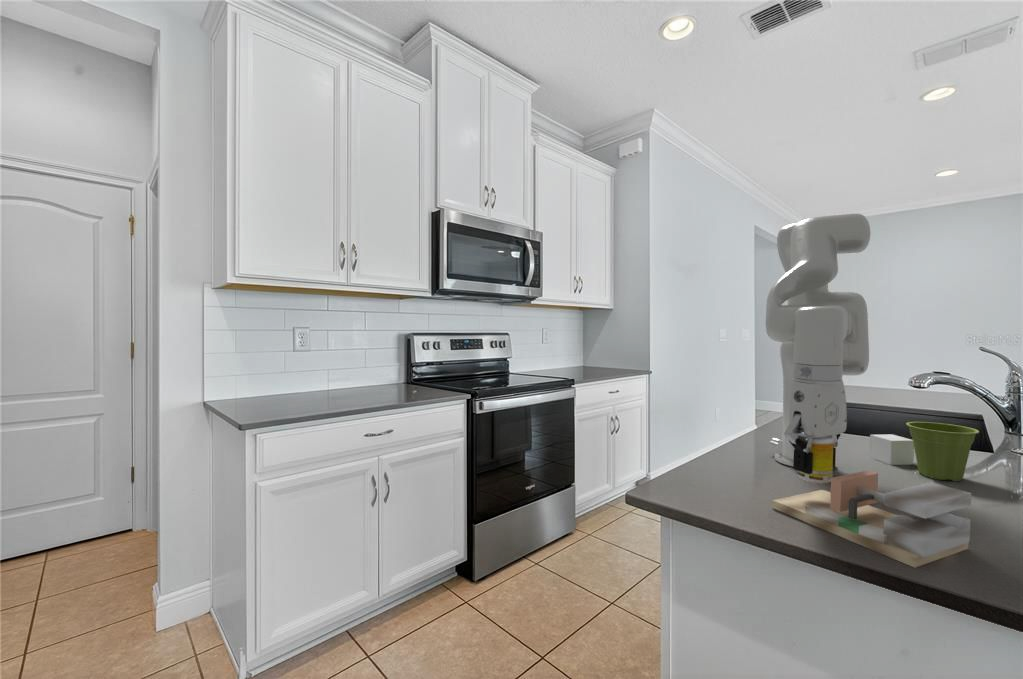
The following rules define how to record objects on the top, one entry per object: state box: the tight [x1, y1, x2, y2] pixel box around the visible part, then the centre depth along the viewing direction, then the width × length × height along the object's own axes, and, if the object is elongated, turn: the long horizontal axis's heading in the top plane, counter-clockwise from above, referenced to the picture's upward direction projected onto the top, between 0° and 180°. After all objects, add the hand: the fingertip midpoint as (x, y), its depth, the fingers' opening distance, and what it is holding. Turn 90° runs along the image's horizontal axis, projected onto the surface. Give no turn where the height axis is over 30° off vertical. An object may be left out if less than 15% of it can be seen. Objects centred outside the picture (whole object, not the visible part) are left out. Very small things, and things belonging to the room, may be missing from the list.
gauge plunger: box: [830, 470, 964, 529], centre depth 71 cm, size 15×11×5 cm
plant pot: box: [905, 421, 980, 482], centre depth 101 cm, size 12×12×11 cm
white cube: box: [869, 433, 915, 466], centre depth 113 cm, size 6×6×6 cm
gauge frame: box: [771, 481, 972, 569], centre depth 76 cm, size 22×14×9 cm, turn 22°
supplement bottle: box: [796, 431, 834, 484], centre depth 84 cm, size 6×6×10 cm
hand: (814, 468), depth 84 cm, fingers closed on supplement bottle, 5 cm apart
